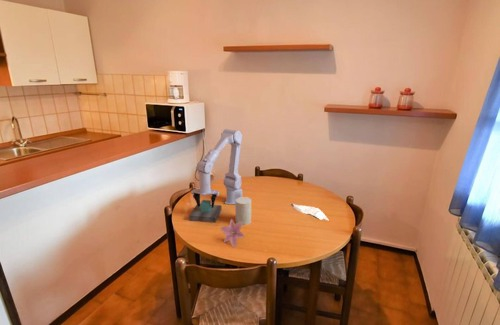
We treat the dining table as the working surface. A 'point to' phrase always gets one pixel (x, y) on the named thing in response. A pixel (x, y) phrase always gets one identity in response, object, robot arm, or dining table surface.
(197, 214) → the plinth
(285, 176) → the dining table surface
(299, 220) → the dining table surface
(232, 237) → the lily
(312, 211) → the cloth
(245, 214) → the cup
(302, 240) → the dining table surface
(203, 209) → the block
